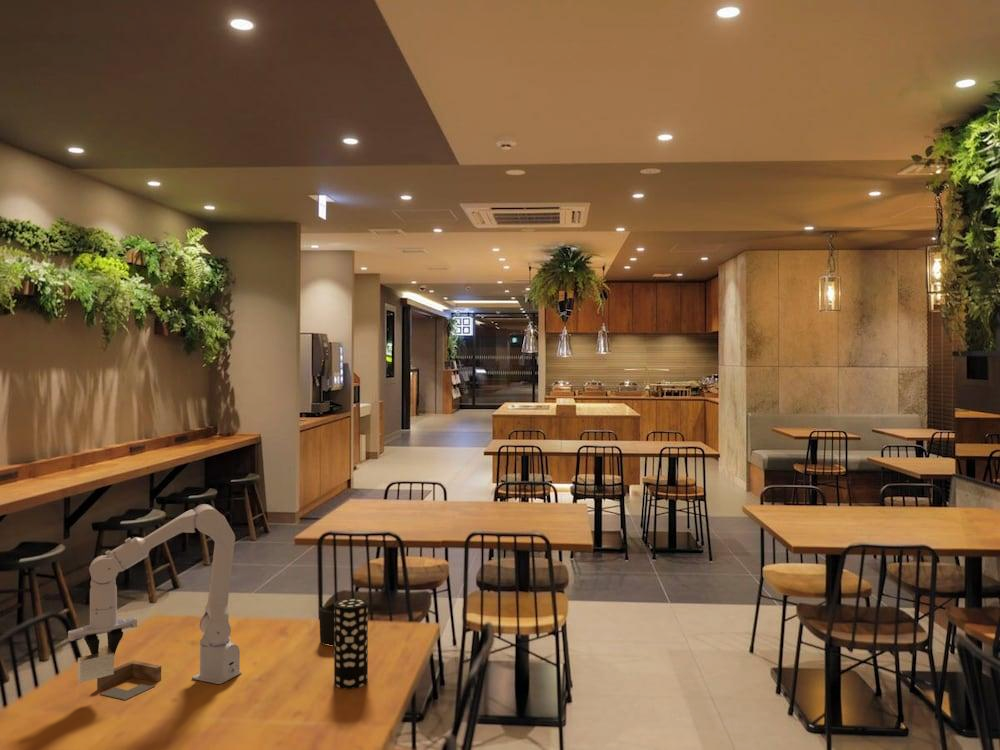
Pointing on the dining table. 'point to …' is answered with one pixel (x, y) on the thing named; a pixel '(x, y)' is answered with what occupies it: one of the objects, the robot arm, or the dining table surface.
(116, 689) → the L-shaped mat
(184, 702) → the dining table surface
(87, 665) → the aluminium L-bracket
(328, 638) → the pen holder
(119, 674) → the corner jig
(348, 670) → the white-spotted black cylinder
